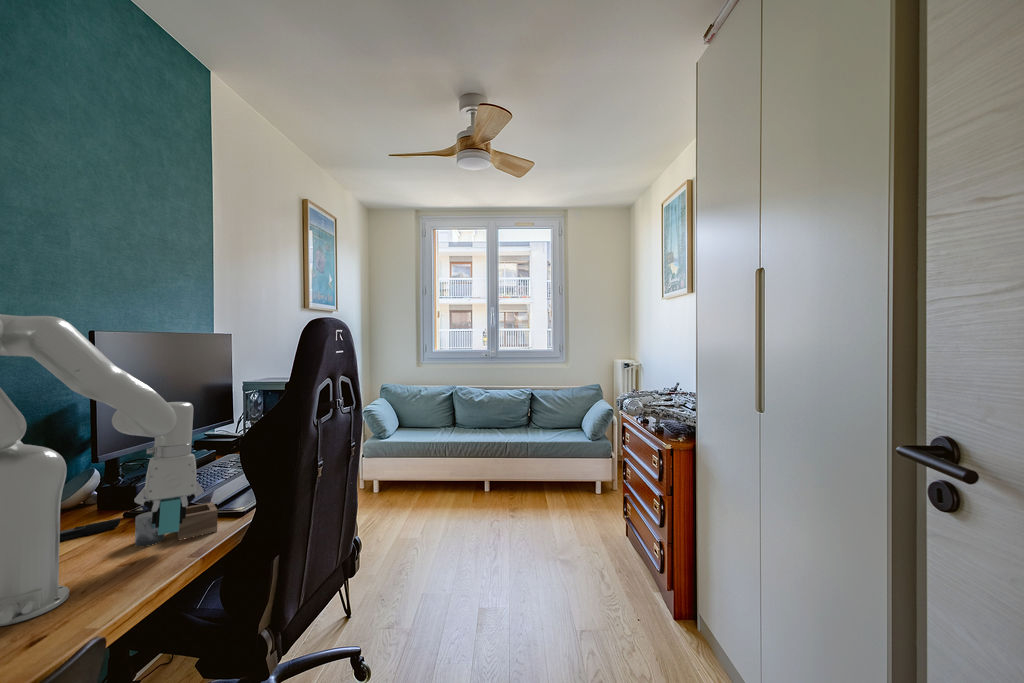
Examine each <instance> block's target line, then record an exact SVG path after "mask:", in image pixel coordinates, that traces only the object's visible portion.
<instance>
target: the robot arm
mask: <svg viewBox="0 0 1024 683" xmlns="http://www.w3.org/2000/svg"><path fill="white" fill-rule="evenodd" d="M0 356H4V357H5V356H7V357H31V358H33V359H34V360H35V361H37V362H38V363H39V364H40V365H42V366H43V367H44V368H45V369H46V370H48V371H49V372H50V373H51V374H53V376H55V377H56V378H57V379H58V380H59V381H61V382H62V383H63V384H64V385H65V386H67V387H68V388H69V389H70V390H71V391H73V392H75V393H76V394H79V395H80V396H83V397H85V398H87V399H91V400H93V401H97V402H100V403H102V404H106V405H107V406H109V407H111V408H113V409H114V410H116V411H115V412H114V413H113V416H112V417H111V424H112V427H113V428H114V429H115V430H117V432H119V433H121V434H125V435H130V436H138V437H139V436H140V437H147V438H154V446H152V447H150V448H146V455H152V457H150V459H149V463H148V465H147V471H146V475H145V484H144V487H143V488H142V489H141V490H140V492H139V493H138V494H137V495H136V496H135V498H134V504H135V503H136V504H137V505H141V506H143V507H145V508H147V509H149V510H150V512H151V511H152V524H155V528H158V527H159V517H160V510H159V504H160V500H161V499H168V498H175V497H180V498H181V504H180V521H179V523H180V524H181V523H182V519H185V518H186V507H188V505H190V503H191V502H193V500H194V499H196V498H197V497H198V496H200V495H202V494H203V493H204V491H205V490H204V489H203V487H202V486H201V485H200V484H199V482H198V481H197V461H196V460H197V459H196V455H195V454H193V453H192V444H193V443H192V441H193V424H194V423H193V422H194V406H193V404H192V403H191V402H189V401H170V402H169V401H168V402H167V401H166V400H165V398H163V397H162V396H161V395H160V394H159V393H158V392H157V391H155V390H154V389H153V388H151V387H150V386H149V385H147V384H146V383H145V382H143V381H141V380H139V379H138V378H136V377H134V375H132V374H130V373H128V372H127V371H125V370H124V369H122V368H120V367H118V366H117V365H115V363H113V362H112V361H111V360H110V359H109V358H108V357H106V355H104V353H102V352H101V351H100V349H98V348H97V347H96V346H95V345H94V344H93V343H92V342H91V341H90V340H88V338H86V337H85V335H83V334H82V333H81V332H80V330H78V329H77V328H76V327H75V326H73V325H72V323H70V322H68V321H66V320H65V319H64V318H61V317H57V316H53V315H27V316H26V315H25V316H24V315H11V314H2V313H1V314H0ZM26 431H27V421H26V418H25V416H24V415H23V414H22V412H21V411H20V410H19V409H18V407H16V405H15V404H14V403H13V402H12V400H11V399H10V397H8V395H7V394H6V393H5V391H4V390H3V389H2V387H0V627H4V626H9V625H14V624H18V623H21V622H24V621H28V620H30V619H33V618H36V617H38V616H41V615H43V614H45V613H47V612H49V611H52V610H54V609H55V608H57V607H59V606H60V605H62V604H63V603H64V602H65V601H67V599H68V598H69V597H70V588H69V587H68V586H65V585H61V584H60V585H59V582H60V543H61V542H60V531H61V502H62V496H63V489H64V487H65V482H66V478H67V472H68V471H67V470H68V469H67V468H68V467H67V464H66V460H65V459H64V457H63V456H62V455H61V454H60V453H59V452H57V451H55V450H53V449H52V448H49V447H45V446H39V445H34V444H33V445H32V444H25V443H23V442H22V441H21V440H22V439H23V437H24V436H25V434H26Z"/></svg>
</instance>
